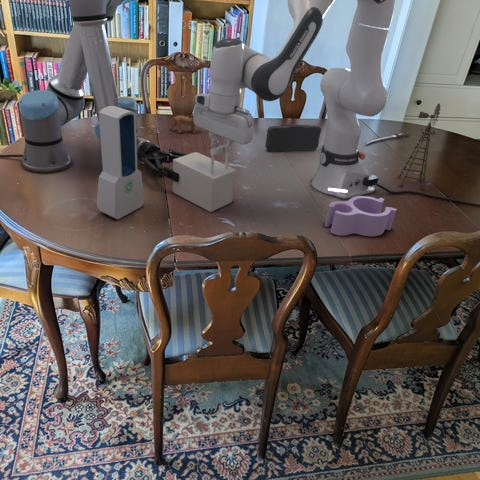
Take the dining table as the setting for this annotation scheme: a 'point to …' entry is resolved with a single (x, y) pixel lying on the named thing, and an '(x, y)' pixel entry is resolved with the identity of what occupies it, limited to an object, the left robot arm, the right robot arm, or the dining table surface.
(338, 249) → the dining table surface
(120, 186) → the electronic device
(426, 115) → the miniature windmill
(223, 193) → the chest
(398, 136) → the sword
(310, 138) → the handheld gaming console
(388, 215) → the clip
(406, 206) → the dining table surface
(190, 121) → the lion figurine
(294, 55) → the right robot arm
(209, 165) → the lid
